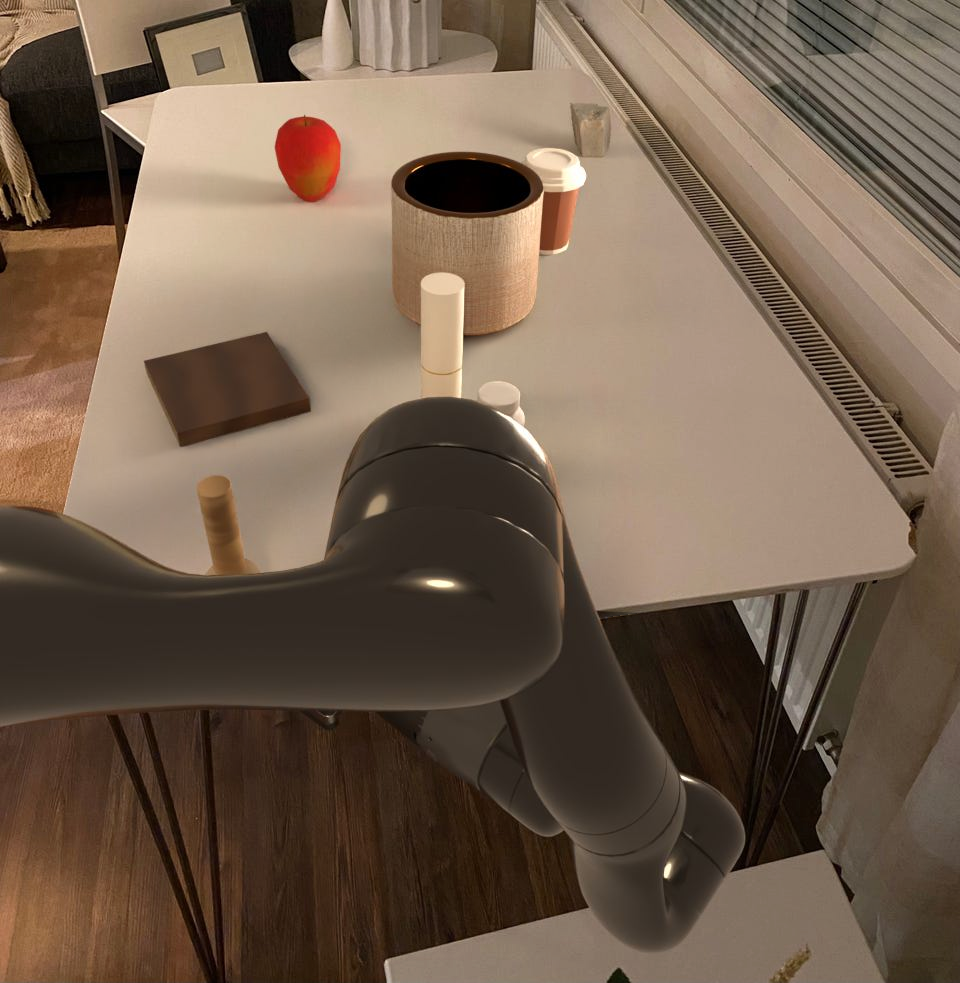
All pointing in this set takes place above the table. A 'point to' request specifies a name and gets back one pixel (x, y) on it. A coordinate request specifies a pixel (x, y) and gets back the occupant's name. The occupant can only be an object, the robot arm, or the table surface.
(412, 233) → the planter
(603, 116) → the mineral specimen
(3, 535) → the robot arm
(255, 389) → the board
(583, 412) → the table surface
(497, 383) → the supplement bottle
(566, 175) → the coffee cup
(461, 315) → the tube
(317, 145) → the apple
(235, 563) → the wooden peg stand
